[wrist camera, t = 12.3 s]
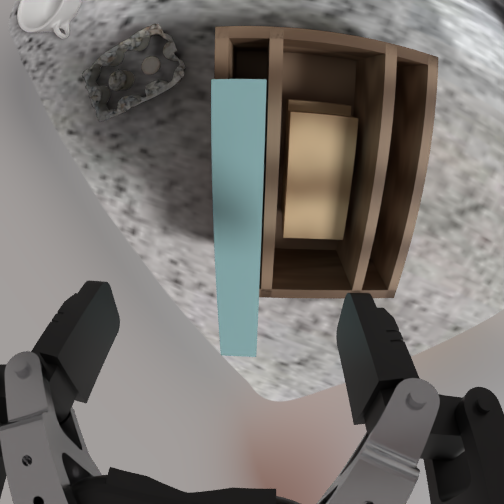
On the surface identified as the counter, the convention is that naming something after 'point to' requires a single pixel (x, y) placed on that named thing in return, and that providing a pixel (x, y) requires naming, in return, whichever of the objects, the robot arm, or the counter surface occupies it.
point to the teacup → (47, 15)
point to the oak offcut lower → (310, 107)
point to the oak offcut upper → (318, 174)
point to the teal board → (238, 207)
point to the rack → (366, 154)
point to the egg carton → (130, 73)
